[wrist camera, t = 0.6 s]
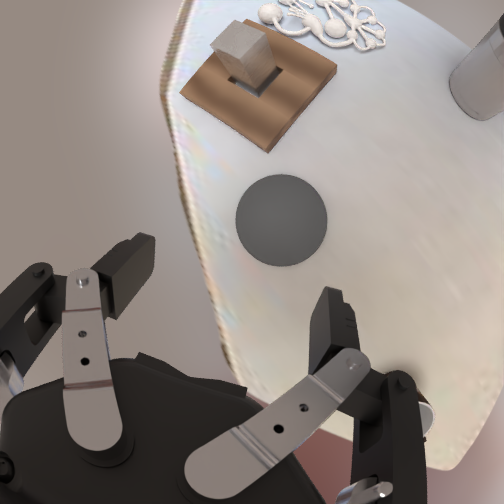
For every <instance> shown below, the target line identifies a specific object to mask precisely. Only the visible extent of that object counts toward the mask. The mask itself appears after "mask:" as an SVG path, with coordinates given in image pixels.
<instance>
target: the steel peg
mask: <svg viewBox="0 0 504 504" xmlns="http://www.w3.org/2000/svg"><path fill="white" fill-rule="evenodd" d="M210 46H211V47H212V49H213V50H214V52H215V53H216V54H217V56H218V57H219V59H220V60H221V62H222V63H223V65H224V66H225V68H226V69H227V70H228V72H229V73H230V75H231V76H232V78H233V79H234V81H235V83H236V84H237V86H239V87H240V88H242V89H244V90H246V91H247V92H249V93H251V94H252V95H254V96H256V97H257V98H259V97H260V96H261V95H262V94H263V93H264V91H265V90H266V89H267V88H268V87H269V86H270V85H271V83H272V82H273V81H274V80H275V79H276V78H277V77H278V76H279V74H278V71H277V67H276V64H275V61H274V58H273V55H272V52H271V49H270V46H269V42H268V39H267V37H266V34H265V33H264V32H262V31H260V30H258V29H255V28H253V27H251V26H248V25H246V24H244V23H241V22H239V21H236V20H234V21H233V22H232V23H231V24H230V25H229V26H228V27H227V28H226V29H225V30H224V31H223V32H222V33H221V34H220V35H219V36H218V37H217V38H216V39H215V40H214V41H213V42H212V43H211V44H210Z"/></svg>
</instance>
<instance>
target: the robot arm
mask: <svg viewBox="0 0 504 504" xmlns="http://www.w3.org/2000/svg"><path fill="white" fill-rule="evenodd" d="M450 89H451V92H452V95H453V97H454V99H455V100H456V102H457V103H458V105H459V106H460V107H461V108H462V109H463V111H465V112H466V113H467V114H468V115H470V116H471V117H473V118H475V119H477V120H487V119H490V118H491V117H493V116H495V115H497V114H498V113H500V112H502V111H504V14H503V15H502V16H501V17H500V19H499V20H498V21H497V22H496V24H495V25H494V26H493V27H492V28H491V29H490V31H489V32H488V33H487V34H486V35H485V36H484V38H483V39H482V40H481V41H480V42H479V44H477V46H476V47H475V48H474V49H473V50H472V51H471V52H470V53H469V55H468V56H467V57H466V58H465V59H464V60H463V61H462V62H461V63H460V65H459V66H458V67H457V68H456V69H455V70H454V71H453V73H452V74H451V76H450ZM154 257H155V237H153V236H151V235H147V234H144V233H141V232H140V233H138V234H137V235H135V236H134V237H133V238H132V239H131V240H128V239H127V240H124V241H122V242H120V243H118V244H116V245H115V246H114V247H113V248H112V250H110V251H109V252H108V253H107V254H106V255H104V256H103V257H102V258H101V259H100V260H99V261H98V262H97V263H95V264H94V265H93V266H92V267H91V268H90V269H88V268H81V269H77V270H75V271H73V272H71V273H70V274H69V275H68V276H61V275H54V273H53V268H52V266H51V265H50V264H48V263H44V262H40V263H35V264H33V265H31V266H29V267H28V268H27V269H26V270H25V271H24V272H23V273H22V274H21V275H19V276H18V277H17V278H16V279H15V280H14V281H13V282H12V283H11V284H10V285H9V286H8V287H7V288H6V289H5V290H4V291H3V292H2V293H1V294H0V424H1V431H0V504H326V502H325V500H324V499H323V497H322V496H321V494H320V493H319V492H318V490H317V489H316V487H315V486H314V484H313V483H312V481H311V480H310V478H309V477H308V475H307V474H306V472H305V470H304V469H303V467H302V466H301V464H300V463H299V461H298V460H297V458H296V456H295V455H294V453H293V451H294V450H296V449H297V448H298V447H299V446H300V445H301V444H302V443H303V442H304V441H305V440H306V439H308V438H309V437H310V435H312V434H313V433H314V432H315V431H316V430H317V429H318V428H319V427H320V426H321V425H322V424H323V423H324V422H325V421H326V420H327V419H328V418H329V417H330V416H331V415H332V414H333V413H334V412H335V411H336V410H338V411H340V412H343V413H345V414H347V415H349V416H351V417H354V432H353V454H352V470H351V481H350V482H351V483H350V486H348V487H346V488H345V489H343V490H342V491H341V492H340V493H339V495H338V496H337V499H336V502H335V504H427V477H426V476H427V475H426V459H425V447H424V437H423V429H422V421H421V414H420V407H419V401H418V394H417V389H416V384H415V382H414V380H413V379H412V377H411V376H410V375H408V374H407V373H405V372H403V371H399V370H396V371H393V372H391V373H390V374H389V375H388V376H386V375H384V374H381V373H379V372H377V371H375V370H373V369H372V368H371V365H370V361H369V359H368V358H367V356H366V355H365V354H364V353H362V352H361V351H360V344H359V337H358V330H357V324H356V318H355V312H354V311H353V309H352V307H351V306H350V304H348V303H344V302H343V295H342V291H341V290H338V289H335V288H331V287H327V286H326V287H325V288H324V289H323V291H322V294H321V296H320V298H319V300H318V302H317V305H316V307H315V309H314V311H313V313H312V317H311V321H310V342H309V369H308V375H307V376H306V377H305V378H304V379H302V380H301V381H300V382H299V383H297V384H296V385H295V386H294V387H292V388H291V389H290V390H289V391H287V392H286V393H285V394H283V395H282V396H281V397H279V398H278V399H277V400H275V401H274V402H273V403H271V404H270V405H269V406H267V407H266V408H263V407H262V406H261V405H260V404H259V403H257V402H256V401H255V400H253V399H252V398H250V397H248V396H246V392H247V387H243V386H240V385H236V384H232V383H229V382H225V381H222V380H214V379H204V378H194V377H189V376H187V375H185V374H183V373H182V372H180V371H178V370H177V369H175V368H174V367H172V366H170V365H169V364H167V363H166V362H164V361H162V360H159V359H156V358H154V357H151V356H148V355H146V354H143V353H141V352H139V353H138V355H137V357H136V358H135V359H133V358H118V359H112V360H111V358H110V353H109V347H108V340H107V334H106V327H105V319H106V318H107V317H110V318H113V319H115V320H117V319H118V317H119V316H120V314H121V313H122V312H123V311H124V309H125V308H126V307H127V305H128V304H129V303H130V301H131V300H132V299H133V298H134V296H135V295H136V294H137V292H138V291H139V290H140V288H141V287H142V286H143V285H144V284H145V282H146V281H147V280H148V279H149V277H150V276H151V274H152V272H153V268H154ZM33 306H34V307H35V311H34V312H33V314H32V315H31V316H30V317H29V318H28V320H27V321H26V322H25V323H24V318H25V316H26V314H27V313H28V312H29V311H30V310H31V308H32V307H33ZM61 324H62V356H63V373H64V377H63V378H60V379H57V380H55V381H52V382H49V383H46V384H43V385H40V386H38V387H35V388H32V389H29V390H26V391H23V392H22V390H23V386H24V380H23V377H24V376H25V374H26V373H27V371H28V370H29V368H30V367H31V365H32V364H33V363H34V361H35V360H36V358H37V357H38V355H39V354H40V353H41V351H42V350H43V348H44V347H45V346H46V344H47V343H48V342H49V340H50V339H51V337H52V336H53V335H54V333H55V332H56V331H57V329H58V328H59V327H60V326H61Z"/></svg>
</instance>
